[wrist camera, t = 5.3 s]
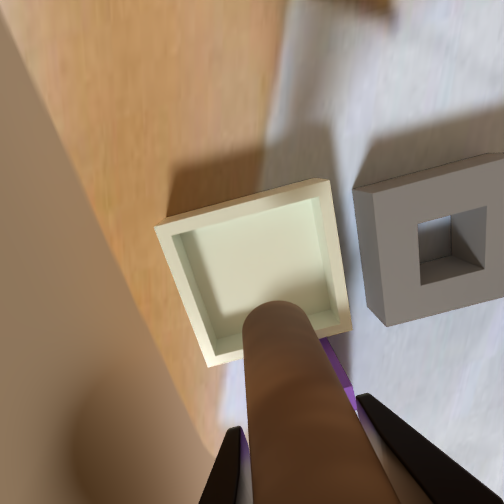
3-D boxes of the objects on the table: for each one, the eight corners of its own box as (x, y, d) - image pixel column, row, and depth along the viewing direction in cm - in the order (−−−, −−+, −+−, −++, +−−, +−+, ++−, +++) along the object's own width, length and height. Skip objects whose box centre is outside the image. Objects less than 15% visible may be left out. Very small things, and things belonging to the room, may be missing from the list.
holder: (487, 153, 19) (531, 151, 16) (483, 276, 22) (519, 292, 19) (352, 189, 19) (372, 193, 16) (367, 306, 22) (386, 327, 20)
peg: (314, 277, 12) (672, 767, 2) (329, 356, 13) (586, 862, 4) (217, 302, 12) (158, 895, 2) (242, 378, 13) (273, 938, 4)
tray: (314, 177, 19) (329, 179, 16) (337, 309, 22) (352, 330, 19) (165, 217, 19) (153, 227, 16) (211, 341, 22) (208, 367, 20)
